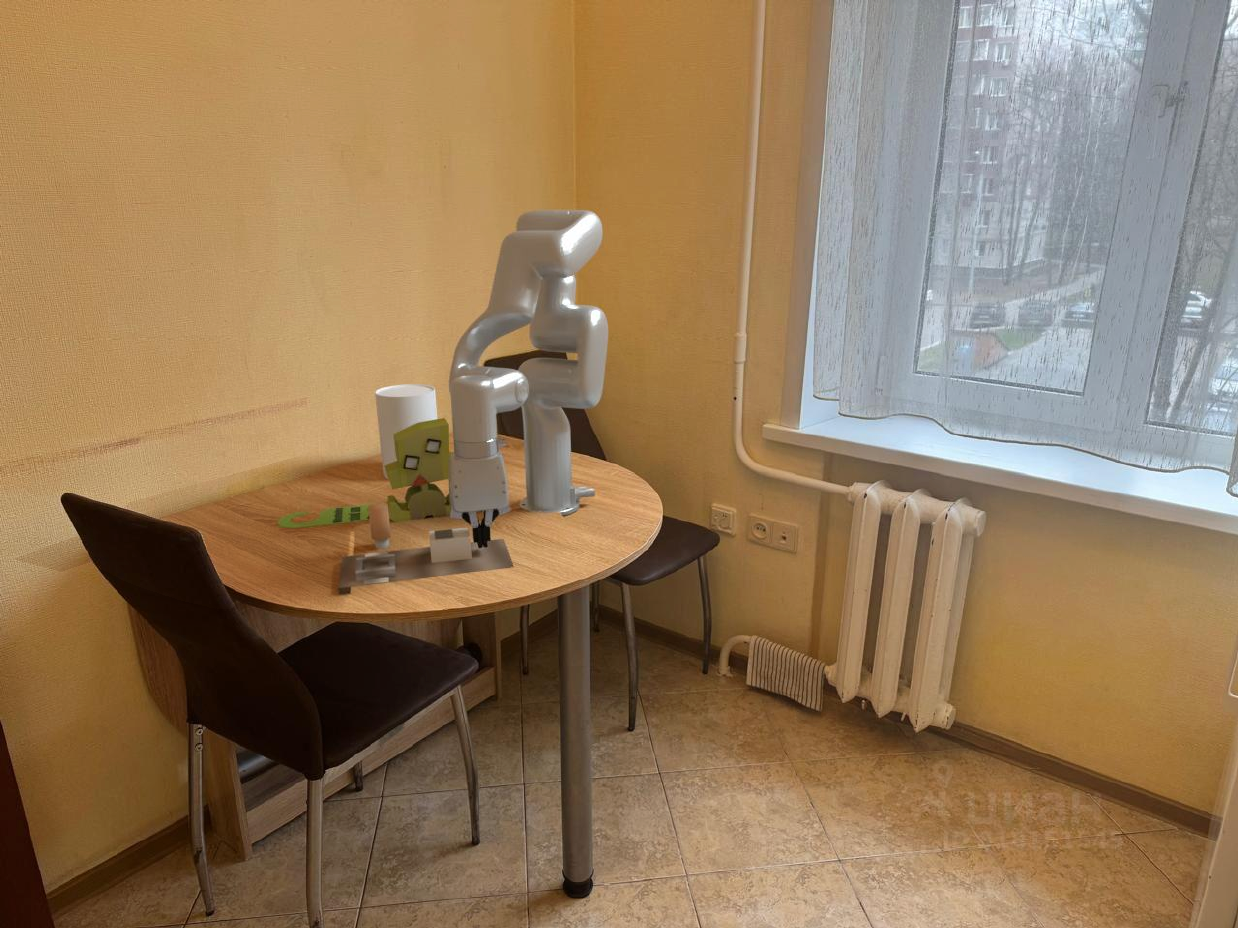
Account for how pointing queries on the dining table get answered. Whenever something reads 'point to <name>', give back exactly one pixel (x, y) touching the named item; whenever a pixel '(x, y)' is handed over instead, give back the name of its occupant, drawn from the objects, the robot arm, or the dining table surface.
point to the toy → (420, 471)
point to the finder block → (450, 545)
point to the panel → (417, 565)
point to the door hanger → (330, 517)
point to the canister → (402, 413)
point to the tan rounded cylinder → (380, 524)
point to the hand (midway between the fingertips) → (482, 544)
